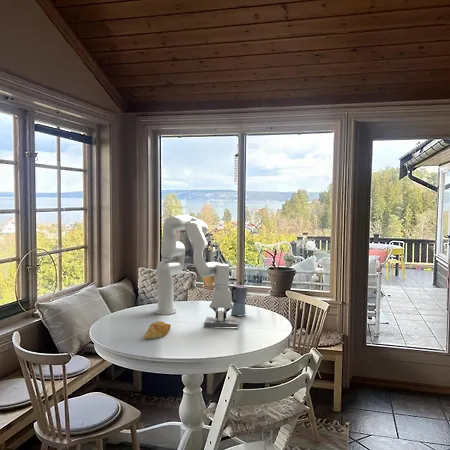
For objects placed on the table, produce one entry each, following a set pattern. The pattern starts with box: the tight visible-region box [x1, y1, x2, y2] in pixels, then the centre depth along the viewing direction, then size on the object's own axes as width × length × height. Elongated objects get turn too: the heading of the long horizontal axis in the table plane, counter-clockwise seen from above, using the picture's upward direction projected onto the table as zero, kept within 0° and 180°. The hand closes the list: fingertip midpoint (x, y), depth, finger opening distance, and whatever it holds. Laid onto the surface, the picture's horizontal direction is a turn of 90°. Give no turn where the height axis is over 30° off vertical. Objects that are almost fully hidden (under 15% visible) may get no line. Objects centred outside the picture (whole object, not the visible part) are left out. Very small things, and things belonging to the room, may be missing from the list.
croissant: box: [143, 321, 172, 340], centre depth 232 cm, size 21×10×8 cm, turn 155°
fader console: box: [203, 316, 240, 328], centre depth 253 cm, size 12×18×3 cm, turn 86°
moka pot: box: [230, 281, 249, 316], centre depth 275 cm, size 10×15×20 cm, turn 148°
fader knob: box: [218, 309, 224, 321], centre depth 253 cm, size 4×3×7 cm
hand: (220, 319), depth 253 cm, fingers closed on fader knob, 3 cm apart
